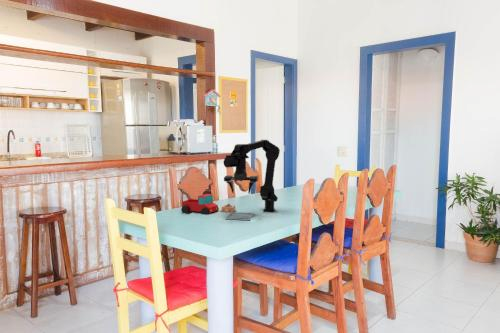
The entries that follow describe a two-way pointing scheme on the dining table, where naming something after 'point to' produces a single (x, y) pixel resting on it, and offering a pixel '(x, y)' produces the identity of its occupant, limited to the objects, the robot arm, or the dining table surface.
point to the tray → (237, 217)
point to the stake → (228, 206)
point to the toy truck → (200, 205)
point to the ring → (228, 208)
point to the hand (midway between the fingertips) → (241, 193)
